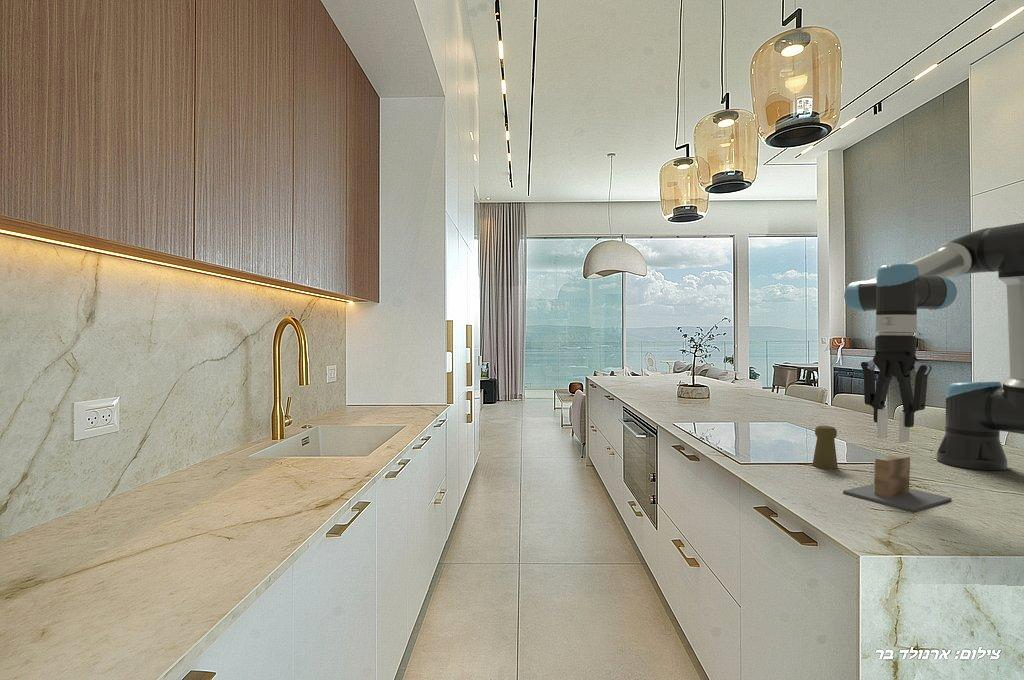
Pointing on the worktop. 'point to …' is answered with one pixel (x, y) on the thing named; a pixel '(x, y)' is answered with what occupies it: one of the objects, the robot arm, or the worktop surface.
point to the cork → (825, 448)
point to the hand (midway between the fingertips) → (892, 439)
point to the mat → (900, 498)
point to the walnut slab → (891, 475)
